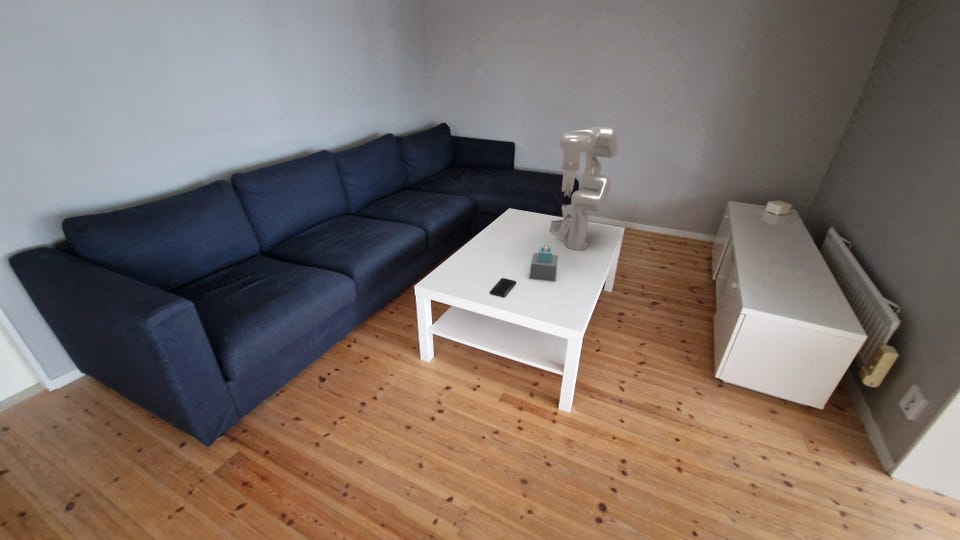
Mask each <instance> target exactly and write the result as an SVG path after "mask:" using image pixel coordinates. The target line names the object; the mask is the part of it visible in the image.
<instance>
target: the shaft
mask: <svg viewBox="0 0 960 540" xmlns="http://www.w3.org/2000/svg"><path fill="white" fill-rule="evenodd" d="M543 247H544V248H543V252H548V249H549V248H550V246H549V245H547V244H546V245H543Z"/></svg>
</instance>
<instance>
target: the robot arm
mask: <svg viewBox="0 0 960 540" xmlns="http://www.w3.org/2000/svg"><path fill="white" fill-rule="evenodd" d="M559 147H560V149H561V150H562V151H563V157H562V166H561V167H562V168H561V170H563V174H562V175H563V176H562V185H561V192H564V194H563V198H562V199H563V200H562V206H563V205H572V211H571V216H570V219H569V220H570V228H569V236H568V240H567V241H564V246H565V247H566V248H568V249H572V250H575V251H577V250H579V251H581V250H586V249H587V248H588V243H587V242H586V239H587V238H586V237H587V232H588V226H589V225H588V224H589V217H590V216H589V213H588V211H590V212H595V213H596V212H601V211H602V210H603V209H604V208H605V204H606V202H607V198H608V196H609V192H610V189H611V187H612V186H611V185H612V178H611V177H610V176H609V175H606V174H601V171H602V168H603V167H602V165H601V161H600V160H599V159H598V158H608V159H613V158H615V157H616V156H617V154H618V151H619V142H618V136H617V131H616V130H615V129H614V128H612V127H606V126H592V127H589V128H586V129H580V130H572V131H568V132H565V133H563V135H562V136H561V137H560V139H559ZM581 154H584V158H585V167H584V169H583V173H582V174H581V175H582V176H581V178H580V182H579V187H580V189H581V190H576V191H574V192H573V190H574V185H575V180H576V172H577V171H579V170H580V163H581ZM572 192H573V193H572ZM571 193H572V194H571Z"/></svg>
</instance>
